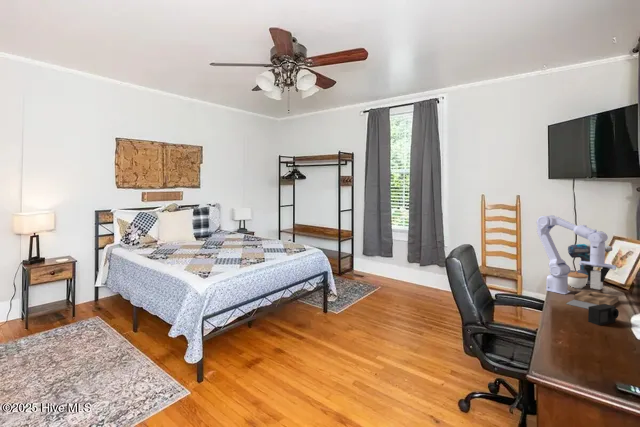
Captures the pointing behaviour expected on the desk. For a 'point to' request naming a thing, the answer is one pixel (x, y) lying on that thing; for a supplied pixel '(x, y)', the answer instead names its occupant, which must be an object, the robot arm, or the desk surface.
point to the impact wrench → (583, 255)
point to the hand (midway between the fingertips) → (596, 280)
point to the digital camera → (602, 314)
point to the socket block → (596, 297)
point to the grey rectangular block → (596, 280)
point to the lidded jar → (577, 279)
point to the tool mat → (580, 304)
